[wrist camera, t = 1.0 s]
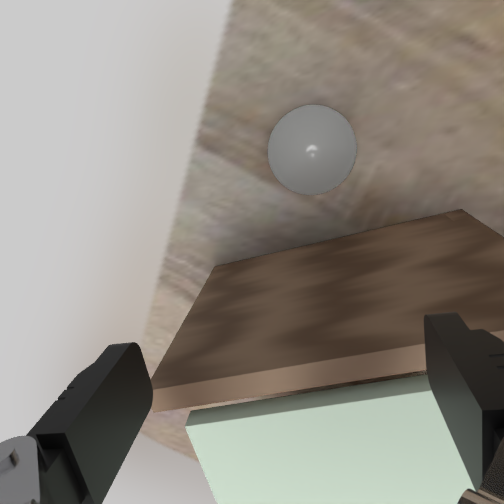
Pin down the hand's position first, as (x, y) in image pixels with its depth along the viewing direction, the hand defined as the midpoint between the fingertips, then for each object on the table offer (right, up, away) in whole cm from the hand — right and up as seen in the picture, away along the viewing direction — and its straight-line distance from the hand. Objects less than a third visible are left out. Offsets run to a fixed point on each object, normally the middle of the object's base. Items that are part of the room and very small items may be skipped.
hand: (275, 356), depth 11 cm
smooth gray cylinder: (+3, +10, +17) cm, 20 cm away
